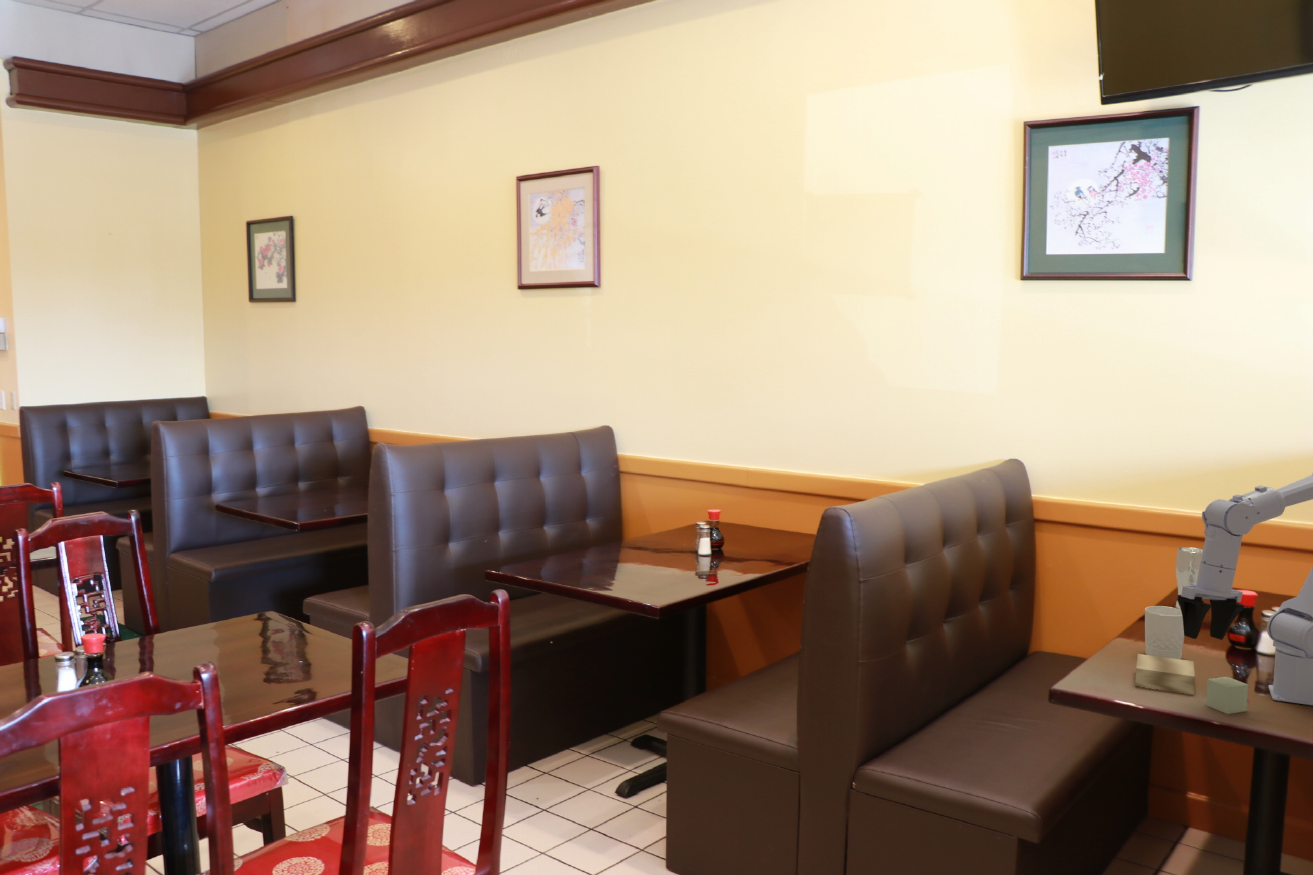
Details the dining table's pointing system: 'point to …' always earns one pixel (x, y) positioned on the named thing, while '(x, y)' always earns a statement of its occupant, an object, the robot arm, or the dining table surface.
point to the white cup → (1164, 632)
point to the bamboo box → (1165, 674)
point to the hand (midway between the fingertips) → (1203, 637)
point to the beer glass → (1187, 567)
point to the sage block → (1227, 695)
